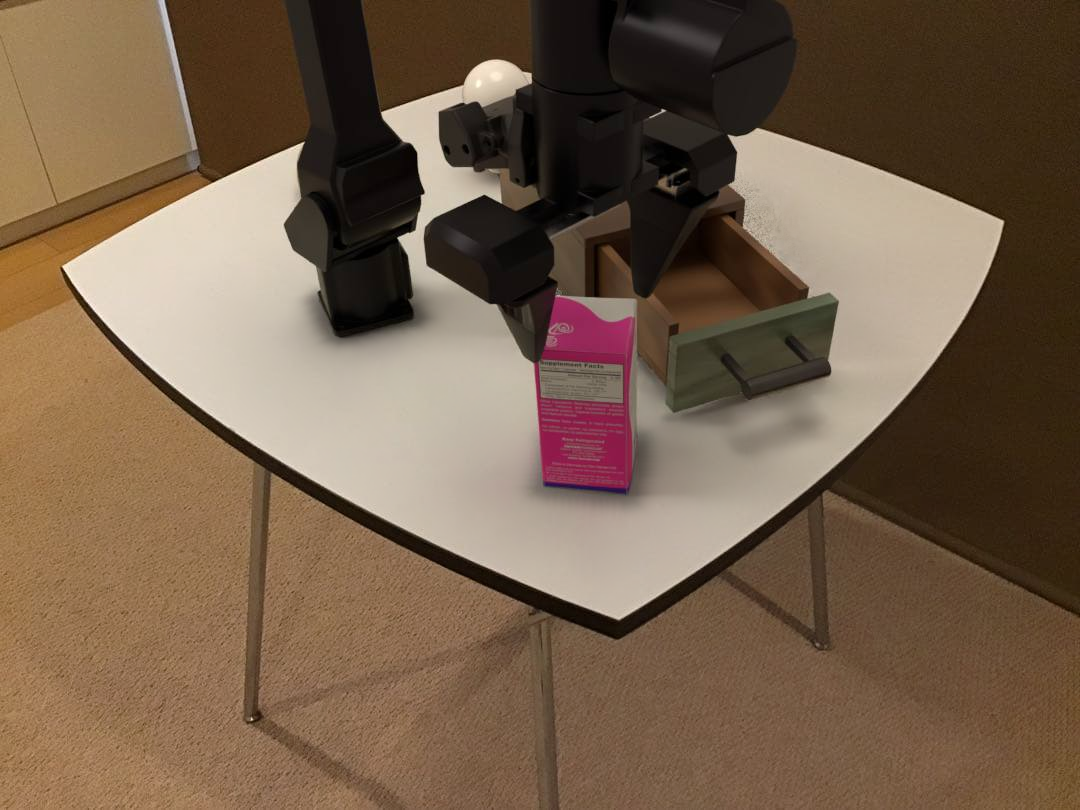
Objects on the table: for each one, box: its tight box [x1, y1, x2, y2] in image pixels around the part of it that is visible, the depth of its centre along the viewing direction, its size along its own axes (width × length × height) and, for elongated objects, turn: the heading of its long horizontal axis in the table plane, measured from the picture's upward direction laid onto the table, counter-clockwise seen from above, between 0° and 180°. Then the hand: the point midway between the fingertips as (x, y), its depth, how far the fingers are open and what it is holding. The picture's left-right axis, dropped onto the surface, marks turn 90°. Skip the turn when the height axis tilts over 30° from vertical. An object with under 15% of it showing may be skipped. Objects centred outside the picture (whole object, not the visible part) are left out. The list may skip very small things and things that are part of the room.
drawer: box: [594, 213, 840, 414], centre depth 76 cm, size 22×12×6 cm, turn 22°
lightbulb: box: [461, 59, 530, 176], centre depth 97 cm, size 6×6×11 cm
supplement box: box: [533, 294, 638, 495], centre depth 65 cm, size 6×6×12 cm
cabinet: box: [499, 117, 747, 297], centre depth 87 cm, size 19×14×8 cm
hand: (588, 326), depth 62 cm, fingers open, 9 cm apart
